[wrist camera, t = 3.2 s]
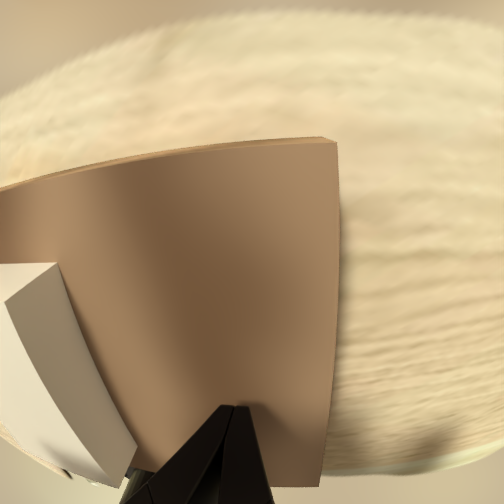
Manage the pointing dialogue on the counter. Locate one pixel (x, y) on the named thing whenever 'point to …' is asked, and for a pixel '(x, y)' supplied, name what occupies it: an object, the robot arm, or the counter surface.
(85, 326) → the block
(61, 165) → the counter surface
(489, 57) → the counter surface
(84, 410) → the tile
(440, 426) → the counter surface
